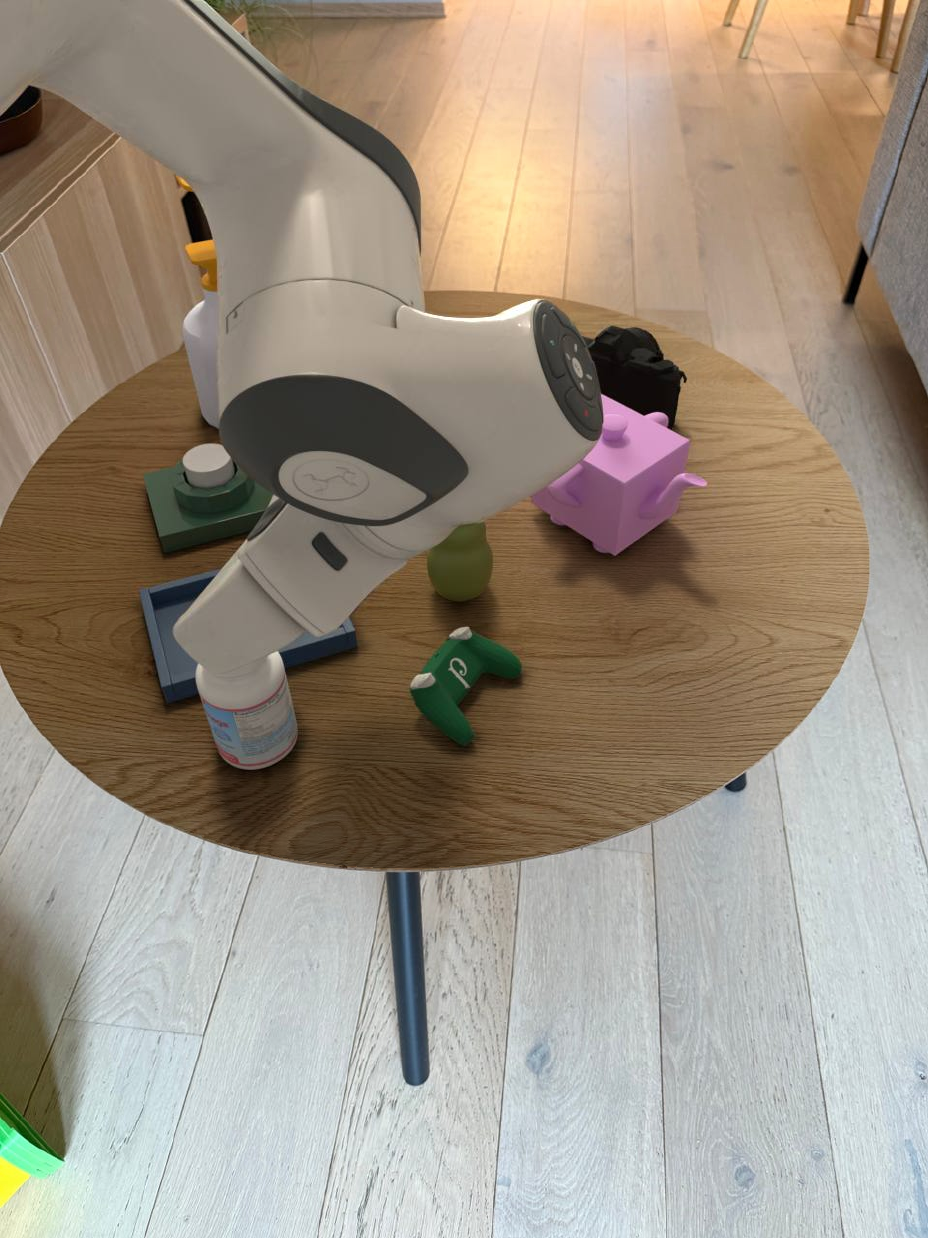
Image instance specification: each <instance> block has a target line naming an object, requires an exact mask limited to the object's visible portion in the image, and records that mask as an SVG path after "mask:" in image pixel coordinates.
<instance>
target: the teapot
mask: <svg viewBox="0 0 928 1238" xmlns="http://www.w3.org/2000/svg"><path fill="white" fill-rule="evenodd" d="M601 398H602V405H603V415H604V423H603V427H602V434H601V437H600V439H599V441H598V443H597V444H596V446H595V447H594V448H593V449H592V451H591V452H590V453H589V454H588V455H587V456H586V457H585V458H584V459H583V460H582V461H580V462H579V463H578V464H577V465H576V466H575V467H573V468H572V469H571V470H569V471H568V472H567V473H565V474H564V475H563V476H561V477H560V478H558V479H557V480H556V481H554V482H553V483H551V484H550V485H548V486H547V487H545V488H543V489H542V490H540V491H539V492H537V493H535V494H534V495H532V496H530V503H531V504H533V505H534V506H536V507H537V508H539V509H540V510H541V511H544V512H545V513H547V514H548V515H550V520H551V522H552V523H554V524H555V525H558V526H567V527H569V528H571V529H572V530H574V531H575V532H576V533H578V534H580V536H583V537H584V538H586V539H587V540H589V541H591V542H592V546H593V548H594V549H595V550H596V551H597V552H600V553H603V554H611V555H613V556H617V555H618V554H620V553H621V552H622V551H624V550H625V549H626V548H628V547H629V546H630V545H632V544H634V543H635V542H636V541H638V540H639V539H640V538H642V537H643V536H645V535H646V534H648V533H649V532H650V531H652V530H653V529H655V528H656V527H658V526H659V525H661V524H662V523H663V522H665V521H666V520H668V519H669V518H670V517H672V516H673V515H675V514H676V513H678V508H679V505H680V504H679V503H680V499H681V498H682V495H683V494H684V492H685V491H686V490H687V489H689V488H691V487H698V488H699V487H706V486H707V485H708V482H707V481H706V480H705V479H704V478H703V477H700V476H698V475H697V474H693V473H690V472H686V469H687V468H686V467H687V462H688V457H689V452H690V447H691V440H690V439H688V438H686V437H684V436H682V435H681V434H679V433H677V432H675V431H673V430H672V429H671V430H669V429H668V428H667V426H668V417H667V416H666V415H665V414H664V413H660V412H654V413H651V414H648V415H646V416H643V415H641V414H639V413H637V412H635V411H633V410H632V409H630V408H628V407H626V406H624V405H622V404H620V403H618V402H616V401H614V400H612V399H610V398H608V397H606V396H604V395H602V394H601Z"/></svg>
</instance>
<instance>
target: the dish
mask: <svg viewBox="0 0 928 1238" xmlns="http://www.w3.org/2000/svg"><path fill="white" fill-rule="evenodd" d="M222 568H223V567H220V568H217V569H215V570H214V569H213V570H209V571H206V572H203V573H198V574H195V575H190V576H187V577H184V578H179V579H175V580H172V581H168V582H165V583H160V584H157V585H152V586H150V587H146V588H141V589H138V594H139V598H140V603H141V607H142V611H143V616H144V620H145V624H146V628H147V633H148V638H149V641H150V646H151V649H152V654H153V658H154V662H155V667H156V671H157V674H158V679H159V684H160V688H161V691H162V693H163V696H164V698H165V702H166V703H167V704H170V703H174V702H178V701H181V700H184V699H187V698H191V697H193V696H197V695H200V694H199V691H198V688H197V684H196V669H197V666H198V663H197V662H196V661H195V660H194V659H193V658H192V657H191V656H190V655H189V654H188V653H187V652H186V651H185V650H184V649H183V648H182V647H181V646H180V645H179V643H178V642H177V641H176V639H175V637H174V635H173V627H174V625H175V624H176V622H177V621H178V619H179V618H180V617H181V616H182V614H183V613H184V612H185V611H186V610H187V609H188V607H189V606H190V605H191V604H193V603H194V602H195V600H196V599H197V598H198V597H199V596H200V594H201V593H202V592H203V591H204V590H205V588H206V587H207V586H208V585H209V584H210V582H211V581H212V580H213V579H214V578H215V576H216V575H217V574H218V573H219V572H220V570H221V569H222ZM358 646H359V645H358V639H357V632H356V629H355V626H354V624H353V622H352V620H351V618H350V616H349V617H348V618H347V619H346V620H345V621H344V622H343V623H342V625H341V626H340V627H338V628H337V629H336V630H334V631H333V632H331V633H329V634H327V635H325V636H322V637H315V636H313V635H312V634H311V633H310V632H308V631H306V632H305V633H303V634H302V635H301V636H300V637H299V638H297V639H296V640H295V641H293V642H292V643H290V644H289V645H287V646H285V647H284V648H282V649H280V650H278V652H279V654H280V656H281V658H282V661H283V665H284V669H288V668H292V667H294V666H298V665H301V664H304V663H308V662H312V661H315V660H318V659H321V658H325V657H328V656H331V655H335V654H339V653H343V652H345V651H348V650H351V649H355V648H358Z"/></svg>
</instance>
